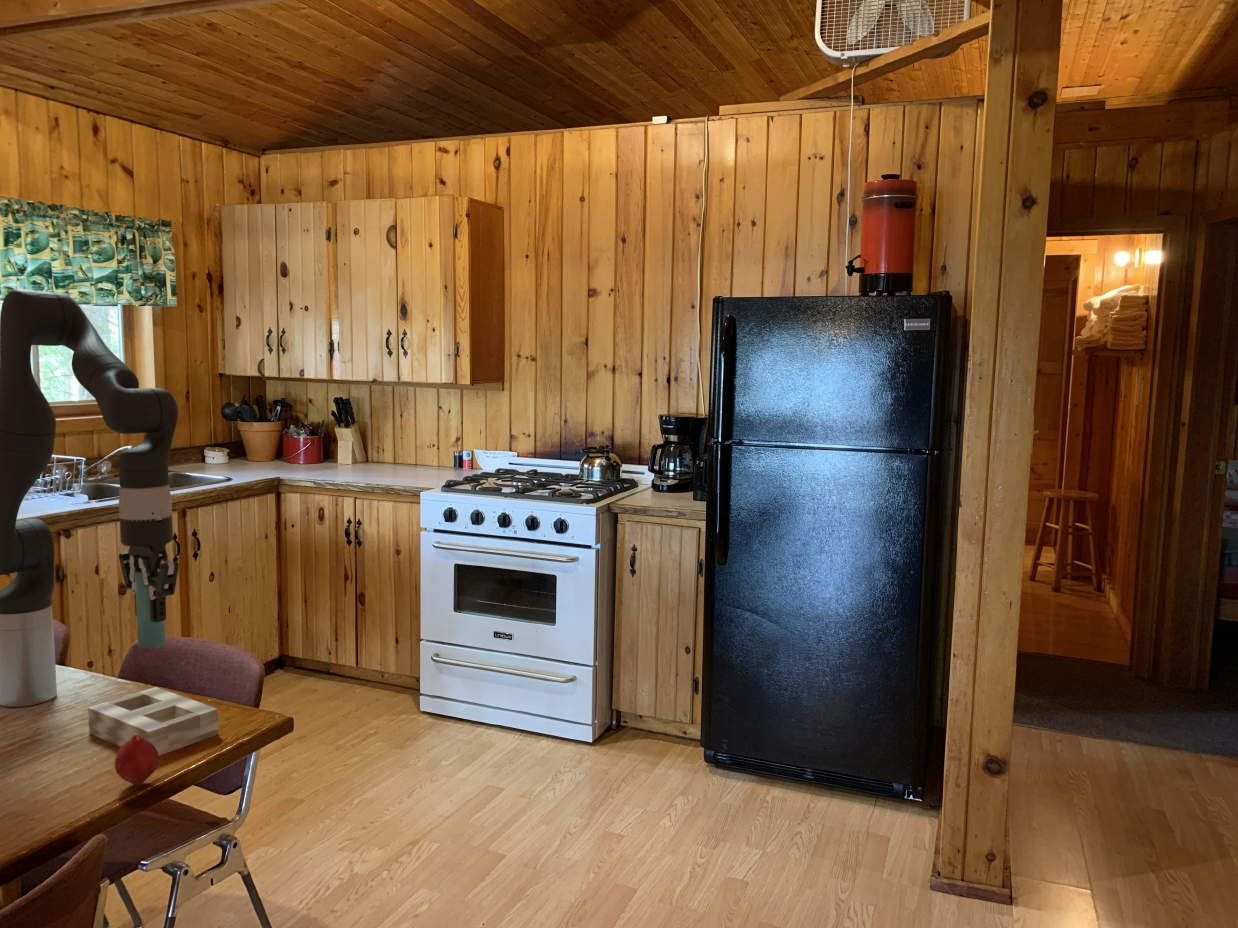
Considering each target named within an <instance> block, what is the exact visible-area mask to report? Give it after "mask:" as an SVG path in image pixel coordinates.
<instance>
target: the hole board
mask: <svg viewBox="0 0 1238 928" xmlns="http://www.w3.org/2000/svg"><path fill="white" fill-rule="evenodd" d="M87 712H88V713H87V717H88V732H89V733H88V734H91V735H92V736H94V737H97V738H100V739H101V740H104V741H107V742H109V743H111V744H113V745H115V746H118V747H120V748H121V747H122V746H123V745H124V744H125V743H126V742H128V741H129V740H130V739H131V738H132V736H133V735H134V734H139V735H140V737H141V738H143V739H146V740H148V741H149V742H151V743H152V744H153V745H154V746H155V748H156V749H157V752H158V756H159V757H160V756H162V755H165V754H168V753H170V752H174V751H177V750H179V749H183V748H184V747H187V746H190V745H193V744H195V743H198V742H201V741H204V740H206V739H210V738H212V737H215V736H218V735H219V719H218V718H219V717H218V708H216V707H214V706H212V705H209V704H205V703H203V702H200V701H197V700H194V699H191V698H188V697H185V696H182V695H180V694H178V693H174V692H171V691H168V690H165V689H162V688H159V687H157V686H155V687H152V688H149V689H145V690H142V691H138V692H135V693H131V694H128V695H125V696H122V697H119V698H118V697H117V698H115V699H111V700H108V701H105V702H102V703H99V704H95V705H92V706H91V705H90V706H89V707H87Z"/></svg>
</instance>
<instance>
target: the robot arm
mask: <svg viewBox="0 0 1238 928" xmlns="http://www.w3.org/2000/svg"><path fill="white" fill-rule="evenodd" d="M32 346H43V347H44V346H46V347H47V346H48V347H58V346H59V347H60V346H63V347H66V348H68V349H69V350H70V351H72V352H73V354H72V357H71V369H72V372H73V375H74V377H75V378H76V380H77V381H78V383H79V384H80V385H81V387H83V389H85V390H86V391H87V392H88V393H89V394H90V395H91V396H92V397H93V398H94V399H95V401H96V404H97V406H98V409H99V410H100V414H101V416H102V418H103V421H104V423H105V425H106V426H107V427H108V428H109V429H110V430H112V431H113V432H116V433H118V434H122V435H133V434H144V437H143V440H142V441H141V443H140V444H138V445H137V446H134V447H131V448H128V449H124V450H123V451H121V452H120V454H119V457H118V474H119V475H118V477H119V478H118V479H119V494H118V495H119V496H118V511H119V513H118V514H119V516H118V517H119V533H120V543H121V545H123V546H125V547H129V548H128V551H126V552H121V553H119V554H118V558H119V559H118V560H119V564H120V567H121V571H122V578H123V582H124V585H125V589H126V590H131V594H132V595H133V596H134V611H135V613H134V615H135V617H136V618H137V612H136V592H135V572H137V571H138V572H141V573H142V574H143V580H144V584H145V585H146V586H148V589H149V595H150V599H151V600H150V615H151V621H152V622H160V621H164V620H166V619H167V606H166V605H167V604H166V603H167V601H166V599H167V598H168V597H169V596H174V595H175V592H176V586H177V579H178V572H179V562H178V560H174V561H171V560H169V559H168V557H169V556H168V553H167V549H166V545H167V544H170V543H171V542H172V541H173V540H174V528H173V526H174V525H173V508H172V507H173V505H172V504H173V503H172V495H171V491H170V489H171V488H170V485H169V484H170V475H169V458H170V452H171V450H172V449H171V448H172V444H173V440H174V435H175V432H176V427H177V424H178V418H179V407H178V404H177V403H178V402H177V401H176V399H175V396H173V394H172V393H171V392H170V391H169V390H167V389H165V388H161V387H147V388H145V387H142V388H140V383H139V379H138V377H137V375H136V374H135V373H134V371H133V370H132V369H130V367H128V366H127V364H125V363H124V362H123V361H122V360H121V359H120V358H119V357H118V356H117V355H115V354H114V353H113V352H112V350H111V349H109V347H108V346H107V345H106V344H105V342H104V340H103V339H102V337H101V336H100V334H99V333H98V331H97V330H96V328H95V326H94V325H93V324H92V323H91V321H90V319H89V318H88V316H87V315H86V313H85V311H84V310H83V308H82V307H81V306H80V305H79V303H77V301H76V300H74V298H72V297H71V296H69V295H67V294H65V293H61V292H55V291H53V292H52V291H41V290H35V289H34V290H33V289H20V288H19V289H16V288H15V289H12V290H10V291H8V292H7V294H6V295H5V296H4V299H3V301H2V304H1V309H0V576H4V575H9V574H15V573H16V576H15V577H14V578H13V579H12V580H11V582H9V584H7V585H6V586H5V587H3V588H1V589H0V706H2V707H7V708H8V707H9V708H20V707H21V708H23V707H29V706H34V705H38V704H42V703H45V702H47V701H50V700H52V699H54V698H55V697H56V696H57V695H58V689H57V688H58V686H57V669H56V668H57V667H56V666H57V665H56V654H55V653H56V652H55V636H54V635H55V634H54V632H55V631H54V619H53V618H54V617H53V600H52V596H53V593H54V590H55V543H54V537H53V532H52V531H51V529H50V527H49V526H48V524H47V523H46V522H45V521H44V520H42V519H39V518H24V519H17V517H18V514H19V512H20V511H19V510H20V507H21V505H22V503H23V500H24V499H25V497H26V495H27V494H28V493H29V491H30V489H31V488H32V487H33V486H34V484H35V483H36V482H37V480H38V479H39V478H40V476H42V474H43V473H44V471H45V469H46V468H47V467H48V466H49V464H50V461H51V459H52V457H53V454H54V448H55V447H54V446H55V439H56V431H57V419H56V415H55V413H54V411H53V409H52V406H51V404H50V403H49V401H48V400H47V398H46V397H45V394H44V393H43V391H42V390H41V389H40V387H39V385H38V383H37V381H36V379H35V376H34V373H33V370H32V360H31V359H32V358H31V356H32V355H31V354H32ZM155 576H158V579H155V580H152V579H151V578H150V577H155ZM155 584H157V588H156V590H155Z"/></svg>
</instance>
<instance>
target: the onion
mask: <svg viewBox="0 0 1238 928" xmlns="http://www.w3.org/2000/svg"><path fill="white" fill-rule="evenodd" d="M159 757H160V756H158V752H157V749H156V748H155V746H154V745H153V744H152V743H151V742H149V741H148V740H146V739H143V738H141V737H140V735H139V734H134V735H133V736H132V738H131V739H130V740H129V741H128V742H126V743H125V744H124V745H123V746H122V747H120V748H119V750H118V751H117V753H116V755H115V759H114V760H115V761H114V769H115V773H116V774H117V775H118V776H119V778H120V779H122V780H124V781H125V782H128V783H130V784H132V785H133V786H136V787H137V786H141V785H143V784H144V783H145V782H146V780H147V779H149V778H150V777H151V776H152V774H154V772H156V769H157V767H158V764H159V759H160V758H159Z"/></svg>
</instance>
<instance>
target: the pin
mask: <svg viewBox="0 0 1238 928" xmlns="http://www.w3.org/2000/svg"><path fill="white" fill-rule="evenodd" d="M150 578H151V579H152V580H155V579H158V576H155V577H150ZM156 588H157V584H155V590H156ZM135 592H136V612H137V617H136V629H137V631H136V632H137V647H139V648H141V649H142V648H143V649H145V648H146V649H148V648H149V649H150V648H158V647H161V646H163V645H165V644H166V642H167V641H166V639H167V638H166V621H165V620H166V619H165V620H164V621H160V622H152V621H151V615H150V600H151V599H150V595H149V589H148V586H146V585H145V584H144V580H143V574H142V573H141V572H138V571H137V572H135Z"/></svg>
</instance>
